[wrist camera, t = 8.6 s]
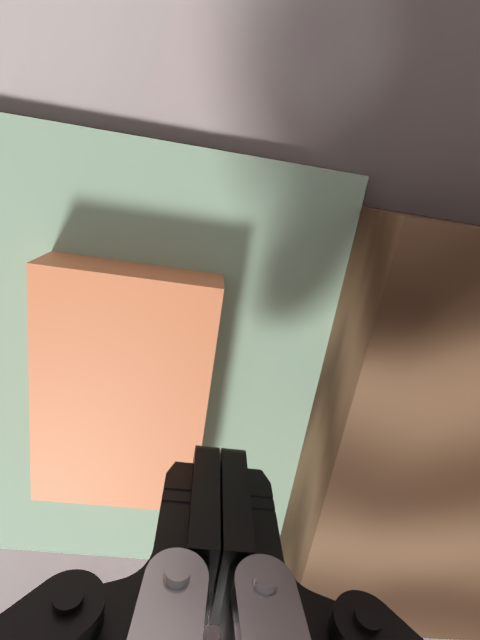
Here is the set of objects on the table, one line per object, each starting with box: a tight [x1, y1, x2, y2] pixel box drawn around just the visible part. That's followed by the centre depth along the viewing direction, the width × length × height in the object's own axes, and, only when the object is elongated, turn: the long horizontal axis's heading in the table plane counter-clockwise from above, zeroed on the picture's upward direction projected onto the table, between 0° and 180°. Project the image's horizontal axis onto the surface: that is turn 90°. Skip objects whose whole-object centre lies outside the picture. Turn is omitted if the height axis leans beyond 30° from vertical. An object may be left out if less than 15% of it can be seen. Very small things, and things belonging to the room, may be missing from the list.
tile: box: [26, 251, 224, 510], centre depth 15 cm, size 9×6×2 cm, turn 171°
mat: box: [0, 112, 369, 559], centre depth 17 cm, size 18×13×1 cm
